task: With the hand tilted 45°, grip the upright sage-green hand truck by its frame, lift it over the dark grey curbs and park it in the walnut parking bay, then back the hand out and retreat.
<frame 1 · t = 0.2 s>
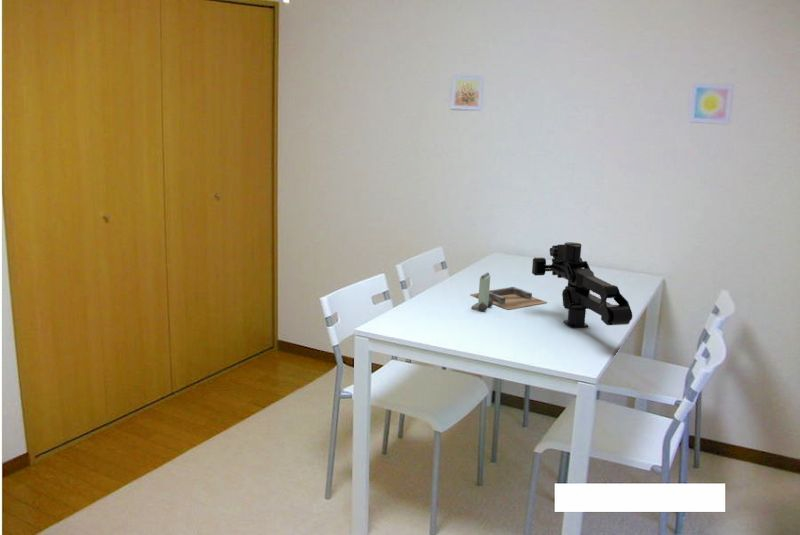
hand: (547, 261, 257), 17 cm above the table, tool horizontal, fingers open, 9 cm apart
build plate: (573, 294, 277), on the table
hand truck: (483, 308, 252), on the table
parking bay: (509, 299, 265), on the table
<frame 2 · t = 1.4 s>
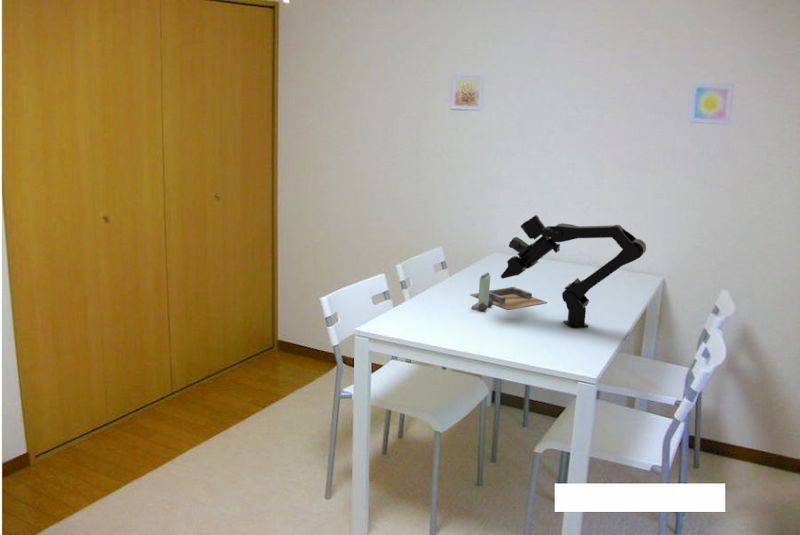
hand: (505, 274, 246), 14 cm above the table, tool tilted 45°, fingers open, 9 cm apart
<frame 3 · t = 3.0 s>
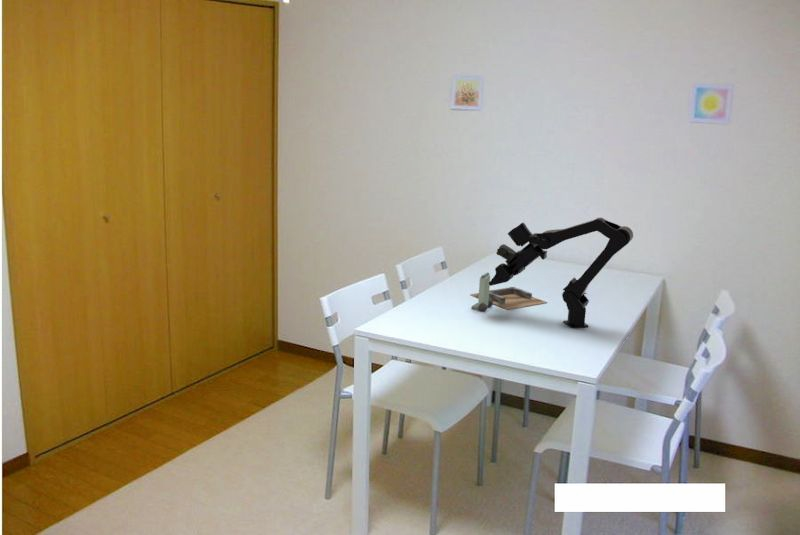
hand: (493, 281, 248), 11 cm above the table, tool tilted 45°, fingers open, 9 cm apart
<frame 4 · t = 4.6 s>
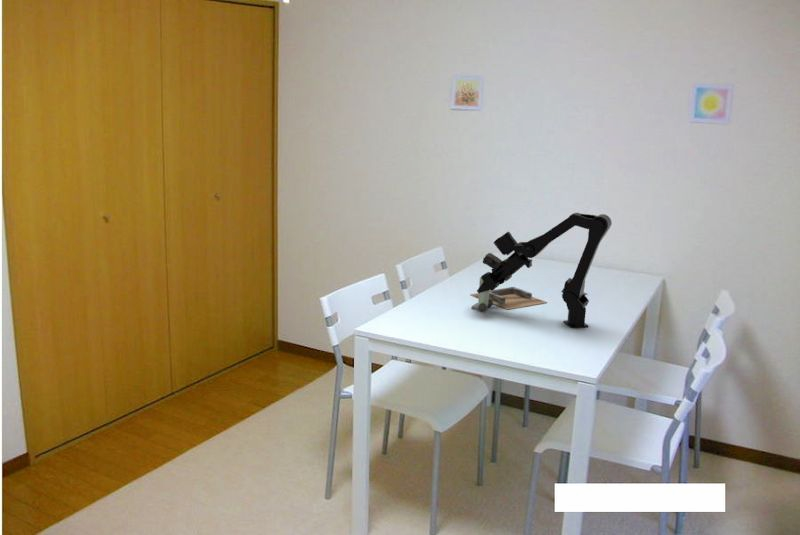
hand: (480, 290, 251), 7 cm above the table, tool tilted 45°, fingers closed on hand truck, 5 cm apart
hand truck: (483, 308, 252), on the table, touching gripper
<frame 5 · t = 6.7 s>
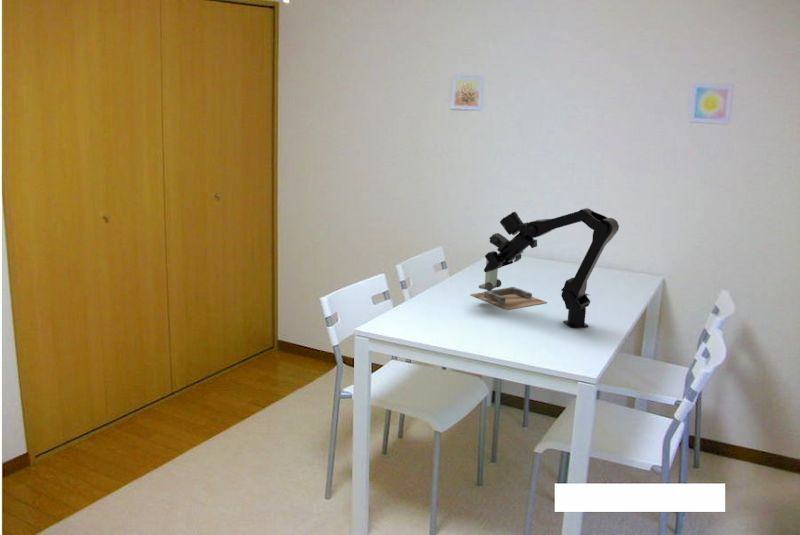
hand: (488, 269, 254), 13 cm above the table, tool tilted 45°, fingers closed on hand truck, 5 cm apart
hand truck: (490, 288, 255), point 7 cm above the table, touching gripper
when the fingers open (9 cm above the table, at t = 9.1 s): hand truck drops 1 cm, resting on parking bay.
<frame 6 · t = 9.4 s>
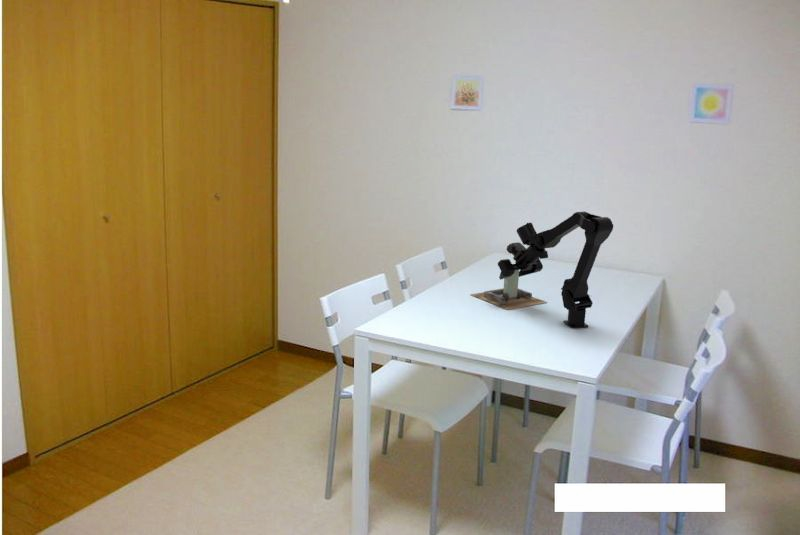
hand: (509, 277, 264), 9 cm above the table, tool tilted 45°, fingers open, 9 cm apart
hand truck: (509, 298, 265), resting on parking bay
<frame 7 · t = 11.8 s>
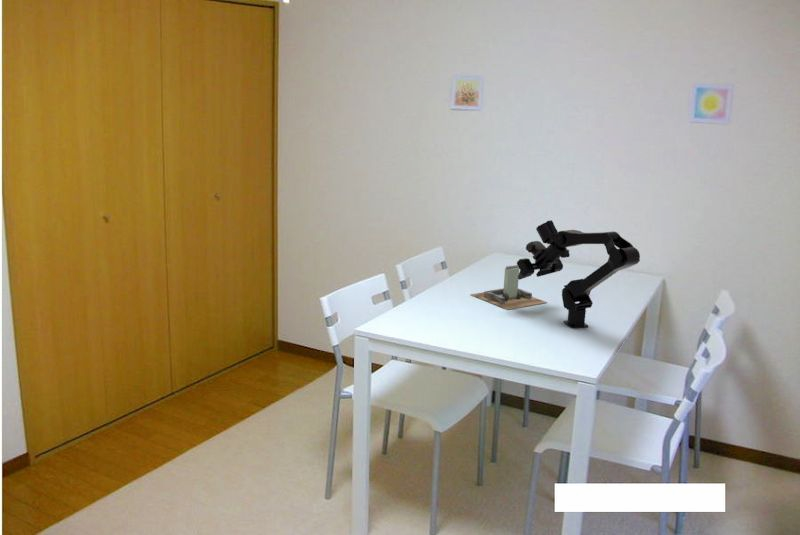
hand: (527, 277, 255), 11 cm above the table, tool tilted 45°, fingers open, 9 cm apart
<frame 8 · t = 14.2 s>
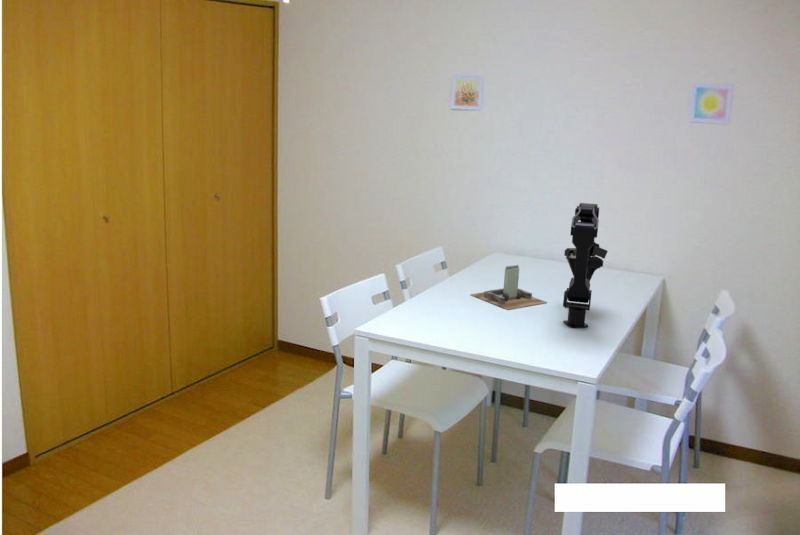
hand: (581, 280, 249), 12 cm above the table, tool pointing down, fingers open, 9 cm apart
at the end: hand truck 0.0 cm from the parking bay (horizontally); hand truck tilted 0°; the gripper is holding nothing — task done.
